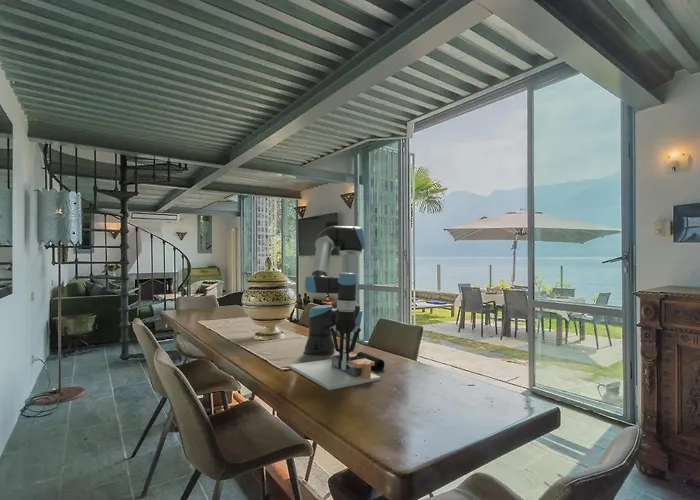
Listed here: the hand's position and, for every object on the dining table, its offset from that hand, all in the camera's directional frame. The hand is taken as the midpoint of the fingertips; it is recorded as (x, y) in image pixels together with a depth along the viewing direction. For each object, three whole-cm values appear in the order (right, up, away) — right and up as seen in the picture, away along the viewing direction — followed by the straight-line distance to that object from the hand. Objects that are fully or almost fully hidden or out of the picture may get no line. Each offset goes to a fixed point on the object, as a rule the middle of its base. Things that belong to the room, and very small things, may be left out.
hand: (343, 368), depth 155 cm
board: (-4, -3, +2) cm, 6 cm away
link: (+2, -1, +3) cm, 4 cm away
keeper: (+8, -3, -4) cm, 9 cm away
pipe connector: (+9, -4, +14) cm, 17 cm away
